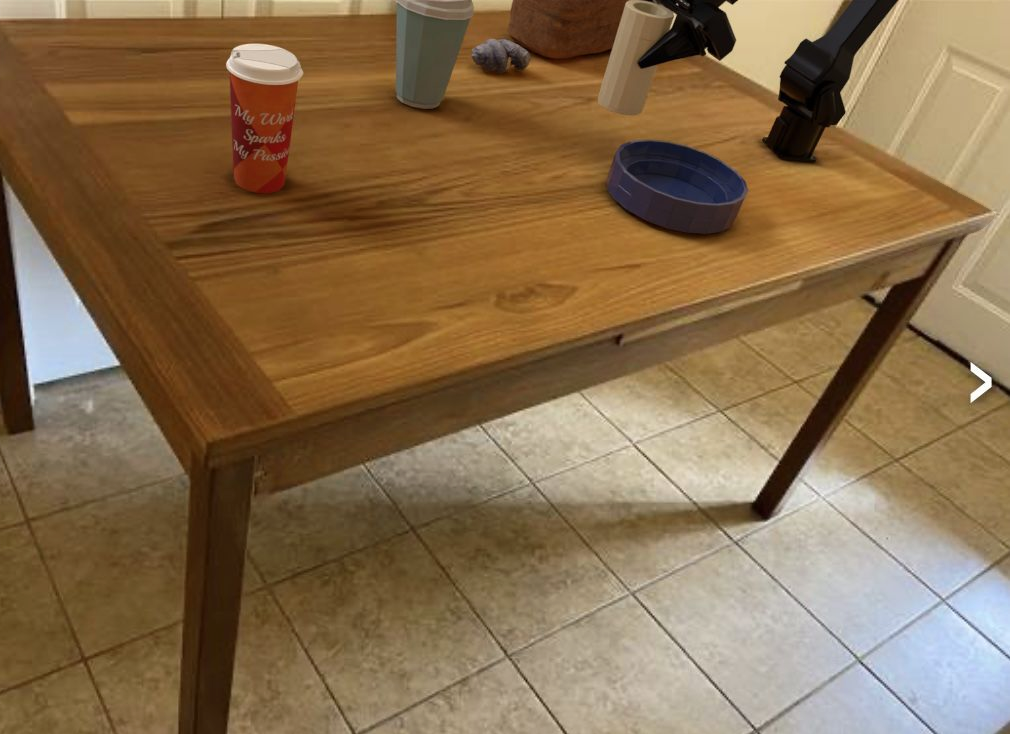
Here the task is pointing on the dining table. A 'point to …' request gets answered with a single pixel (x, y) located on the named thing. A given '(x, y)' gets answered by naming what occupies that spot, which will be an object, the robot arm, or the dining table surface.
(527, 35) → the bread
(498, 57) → the grey croissant
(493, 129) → the dining table surface
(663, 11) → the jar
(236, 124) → the paper cup
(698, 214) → the bowl
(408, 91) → the disposable coffee cup
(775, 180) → the dining table surface
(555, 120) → the dining table surface
